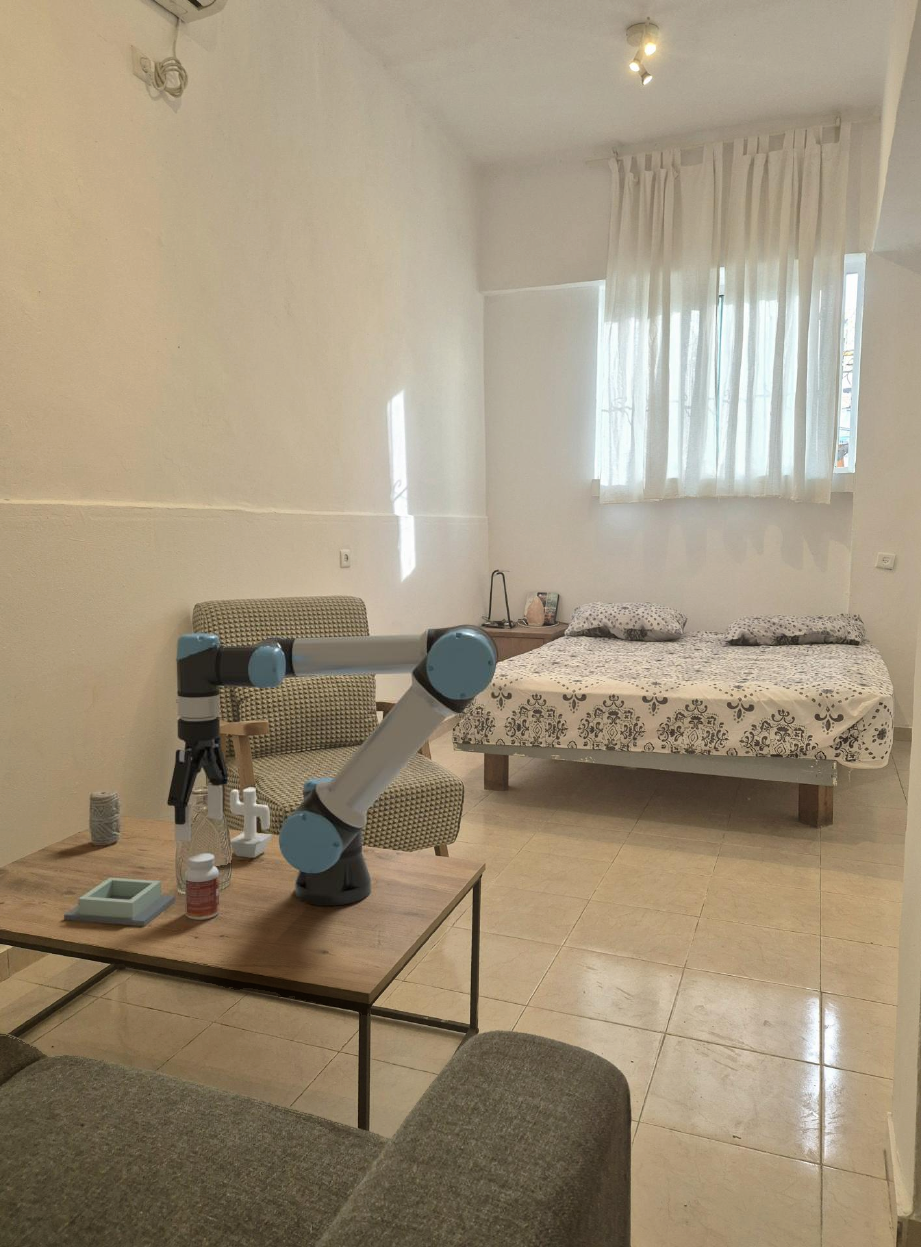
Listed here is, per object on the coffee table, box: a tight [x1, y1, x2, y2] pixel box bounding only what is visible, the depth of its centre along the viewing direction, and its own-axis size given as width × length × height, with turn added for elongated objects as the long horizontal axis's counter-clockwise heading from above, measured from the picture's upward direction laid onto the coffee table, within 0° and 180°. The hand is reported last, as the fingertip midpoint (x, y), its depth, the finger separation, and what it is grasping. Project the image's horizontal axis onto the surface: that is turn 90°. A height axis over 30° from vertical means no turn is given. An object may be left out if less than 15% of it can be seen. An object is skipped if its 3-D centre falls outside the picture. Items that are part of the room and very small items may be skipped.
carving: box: [88, 790, 122, 847], centre depth 209 cm, size 6×8×12 cm
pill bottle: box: [184, 852, 220, 921], centre depth 169 cm, size 6×6×11 cm
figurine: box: [229, 786, 273, 859], centre depth 202 cm, size 7×9×15 cm
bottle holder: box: [63, 877, 176, 927], centre depth 171 cm, size 16×12×4 cm
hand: (199, 829), depth 168 cm, fingers open, 13 cm apart
